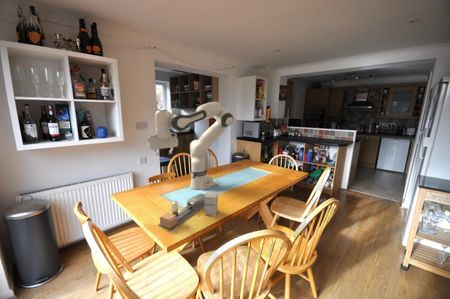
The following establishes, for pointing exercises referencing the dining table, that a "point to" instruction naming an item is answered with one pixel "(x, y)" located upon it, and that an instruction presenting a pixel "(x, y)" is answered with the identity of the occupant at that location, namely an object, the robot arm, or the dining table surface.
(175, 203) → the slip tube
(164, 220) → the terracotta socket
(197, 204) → the steel sleeve
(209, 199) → the supplement box
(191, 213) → the charcoal board
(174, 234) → the dining table surface
